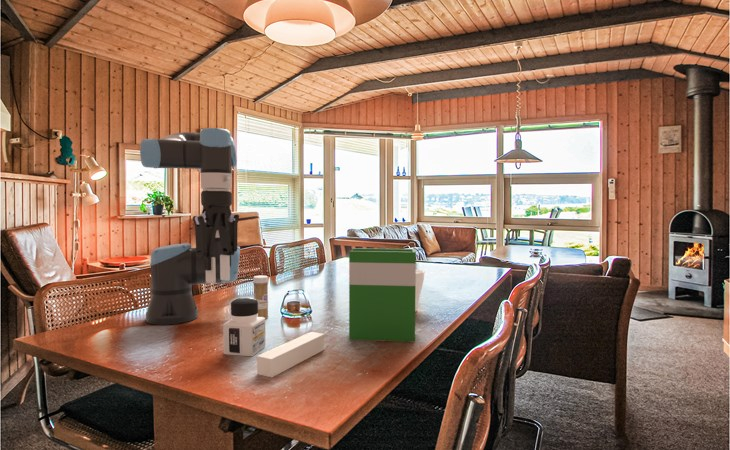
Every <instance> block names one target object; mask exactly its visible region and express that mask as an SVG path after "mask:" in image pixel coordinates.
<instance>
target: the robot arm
mask: <svg viewBox="0 0 730 450" xmlns="http://www.w3.org/2000/svg"><path fill="white" fill-rule="evenodd" d="M139 146H140V147H139V148H140V149H139V155H140V163H141V164H142V166H143V167H144V168H150V169H151V168H153V169H188V170H193V169H194V170H197V171H198V173H200V189H202V191H201V192H200V205H201V206H202V211H201V213H200V214H199V215H193V216H192V222H193V225H194V230H195V231H194V232H195V247H192V245H191V243H189V242H188V243H187V242H186V243H177V244H169V245H165V246H159V247H157V248H154V249H153V250H152V251H151V253H150V264H149V266H150V280H151V282H150V284H151V285H150V289H151V290H150V292H151V297H150V300H149V303H148V307H147V311H146V312H145V322H146V323H148V324H149V325H157V326H160V325H162V326H163V325H164V326H167V325H169V326H170V325H178V324H183V323H187V322H191V321H194V320H196V319H197V318H198V317H199V308H198V307H197V304H196V302H195V298H194V295H193V292H192V285H209V284H212V285H214V284H224V283H225V284H226V283H233V282H235V281H236V280H237V279H238V275H239V265H240V256H241V247H240V246H238V223H239V220H240V215H239V214H234V213H232V210H231V206H232V205H233V192H232V191H230V190H232V188H233V186H232V185H233V181H232V180H233V179H232V178H233V175H232V172H233V169H234V168H236V167H237V161H238V159H237V155H236V153H237V152H236V151H237V150H236V145H235V141H234V137H232V134H231V131H230V130H228V129H225V128H220V127H205V128H202V129H201V130H200V131H199V132H191V131H182V132H177V133H172V134H168V135H166V136H165V135H164V136H163V137H162V138H159V139H157V138H144V139H142V140H141V141H140V145H139Z"/></svg>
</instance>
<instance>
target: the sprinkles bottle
mask: <svg viewBox="0 0 730 450" xmlns="http://www.w3.org/2000/svg"><path fill="white" fill-rule="evenodd" d="M252 279H253V280H252V281H253V299H256V300H257V301H258V317H265V320H266V319H268V318H269V295H268V289H269V288H268V284H269V276H267V275H254V276H253V278H252Z"/></svg>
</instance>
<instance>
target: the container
mask: <svg viewBox="0 0 730 450" xmlns="http://www.w3.org/2000/svg"><path fill="white" fill-rule="evenodd" d="M222 326H223V327H222V329H223V332H222V333H223V335H222V336H223V338H222V340H223V354H224V355H228V356H239V357H240V356H241V357H254V356H255V355H256V354H258V353H259V352H260V351H261V350H262V349H264V348H265V347H266V319H265V317H258V301H257V300H256V299H254V297H238V298H236V299H233V300H232V301H231V302H230V319H229V320H227V321H226V322H223V324H222Z"/></svg>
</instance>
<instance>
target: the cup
mask: <svg viewBox="0 0 730 450" xmlns="http://www.w3.org/2000/svg"><path fill="white" fill-rule="evenodd" d="M424 278H425V271H424V270H422V269H416V284H415V313H416V312H417V311H418V308H419V307H418V306H419V302H420V301H419V300H420V297H421V292H422V289H423V285H424V280H425V279H424Z"/></svg>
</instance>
